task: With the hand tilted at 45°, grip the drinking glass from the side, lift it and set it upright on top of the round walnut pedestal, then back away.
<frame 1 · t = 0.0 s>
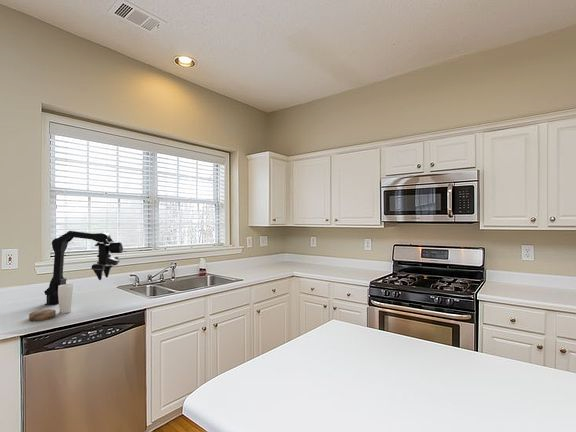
hand: (103, 278, 200), 15 cm above the countertop, tool pointing down, fingers open, 9 cm apart
drinking glass: (65, 312, 179), on the countertop
walnut pedestal: (42, 318, 169), on the countertop
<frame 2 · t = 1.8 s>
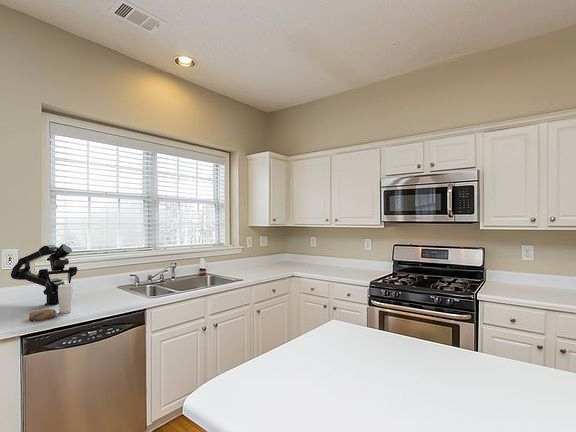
hand: (60, 284, 188), 14 cm above the countertop, tool tilted 45°, fingers open, 9 cm apart
nothing on the countertop moved.
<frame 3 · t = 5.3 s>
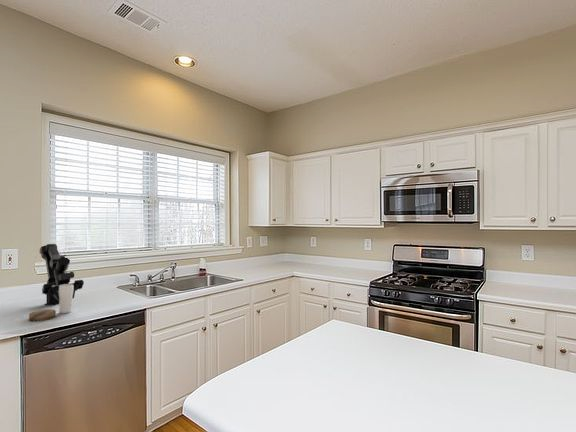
hand: (66, 299, 178), 8 cm above the countertop, tool tilted 45°, fingers closed on drinking glass, 7 cm apart
drinking glass: (65, 312, 179), on the countertop, touching gripper
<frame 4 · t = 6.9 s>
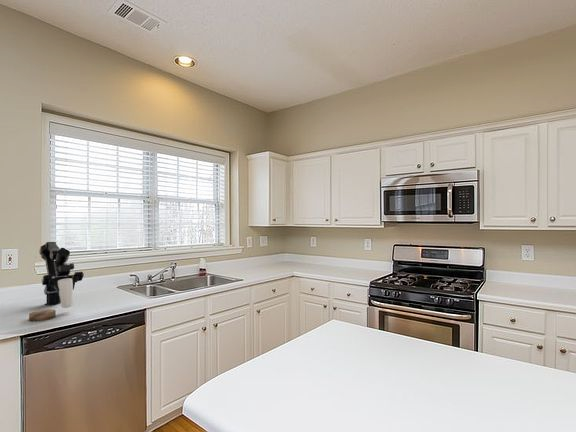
hand: (66, 290, 178), 12 cm above the countertop, tool tilted 45°, fingers closed on drinking glass, 6 cm apart
drinking glass: (67, 306, 180), point 3 cm above the countertop, touching gripper
when the fingers open (12 cm above the countertop, at t = 9.1 s): drinking glass stays where it is, resting on walnut pedestal.
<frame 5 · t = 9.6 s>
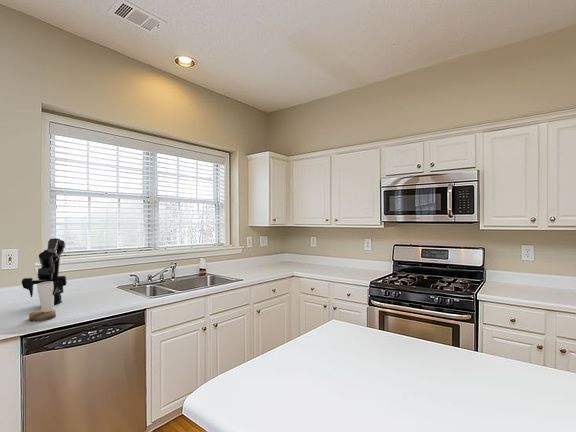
hand: (42, 295, 167), 12 cm above the countertop, tool tilted 45°, fingers open, 9 cm apart
drinking glass: (48, 311, 170), point 3 cm above the countertop, touching gripper, walnut pedestal
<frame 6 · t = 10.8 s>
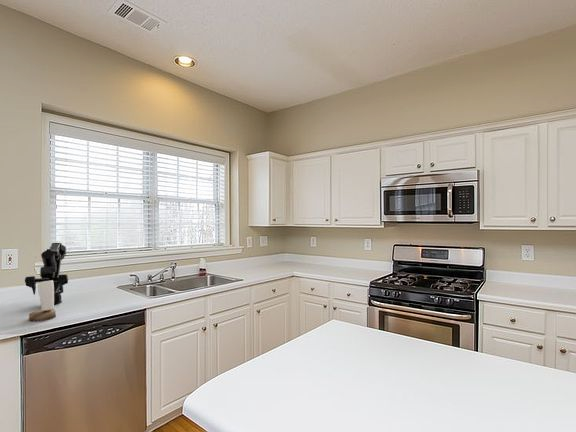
hand: (44, 293, 173), 12 cm above the countertop, tool tilted 45°, fingers open, 9 cm apart
drinking glass: (48, 310, 170), point 3 cm above the countertop, touching walnut pedestal
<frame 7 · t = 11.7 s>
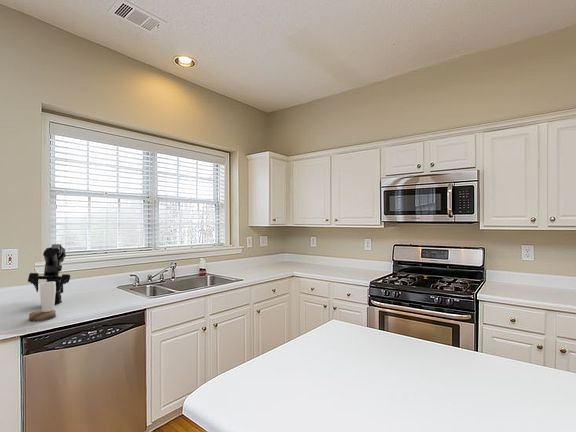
hand: (47, 291, 177), 12 cm above the countertop, tool tilted 40°, fingers open, 9 cm apart
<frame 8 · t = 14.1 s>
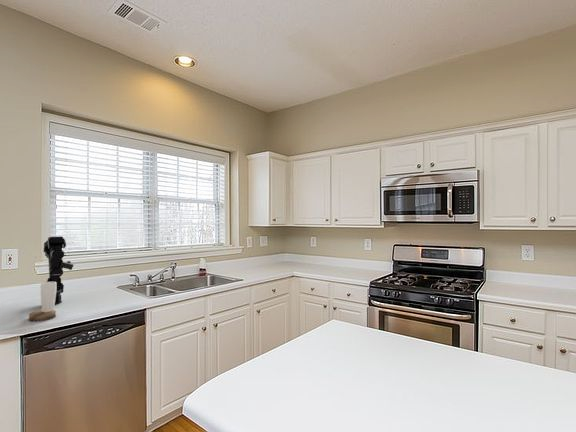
hand: (55, 285, 188), 13 cm above the countertop, tool pointing down, fingers open, 9 cm apart
at the end: drinking glass 2.3 cm off-centre on the walnut pedestal, point 2.8 cm above the walnut pedestal's base; drinking glass tilted 1°; the gripper is holding nothing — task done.
